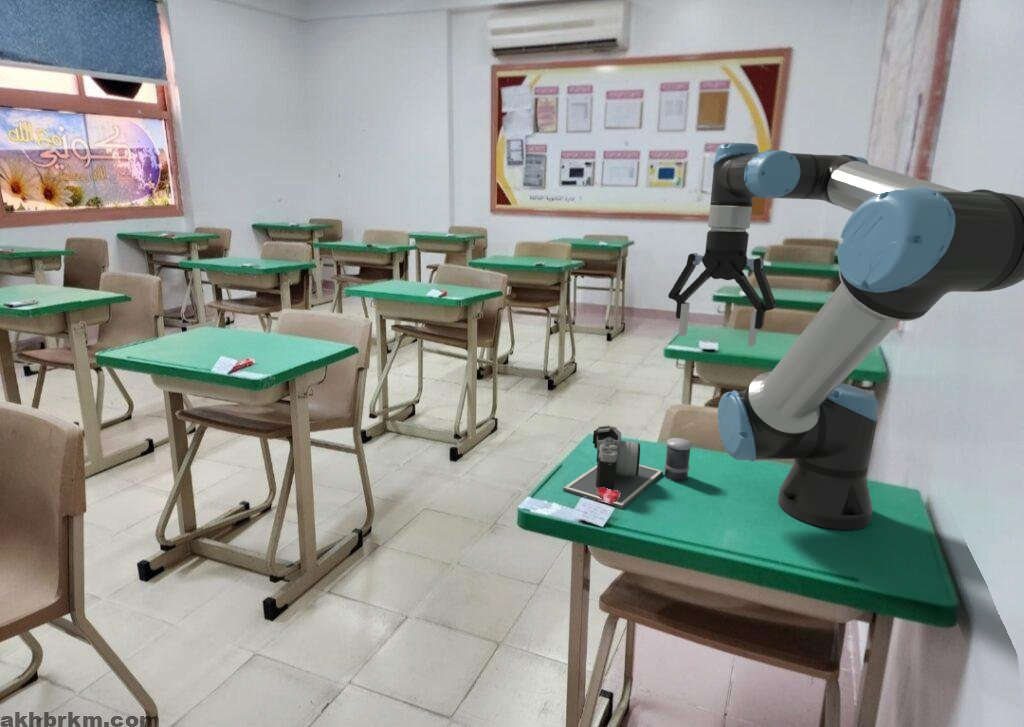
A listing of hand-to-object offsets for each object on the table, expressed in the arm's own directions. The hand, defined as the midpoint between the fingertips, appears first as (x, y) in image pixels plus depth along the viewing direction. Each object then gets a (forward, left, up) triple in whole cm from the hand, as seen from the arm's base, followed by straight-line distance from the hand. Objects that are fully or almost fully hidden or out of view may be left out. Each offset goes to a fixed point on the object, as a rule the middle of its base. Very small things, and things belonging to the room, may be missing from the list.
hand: (716, 340), depth 128 cm
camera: (+12, +18, -26) cm, 34 cm away
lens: (+3, +8, -27) cm, 28 cm away
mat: (+11, +18, -27) cm, 34 cm away
